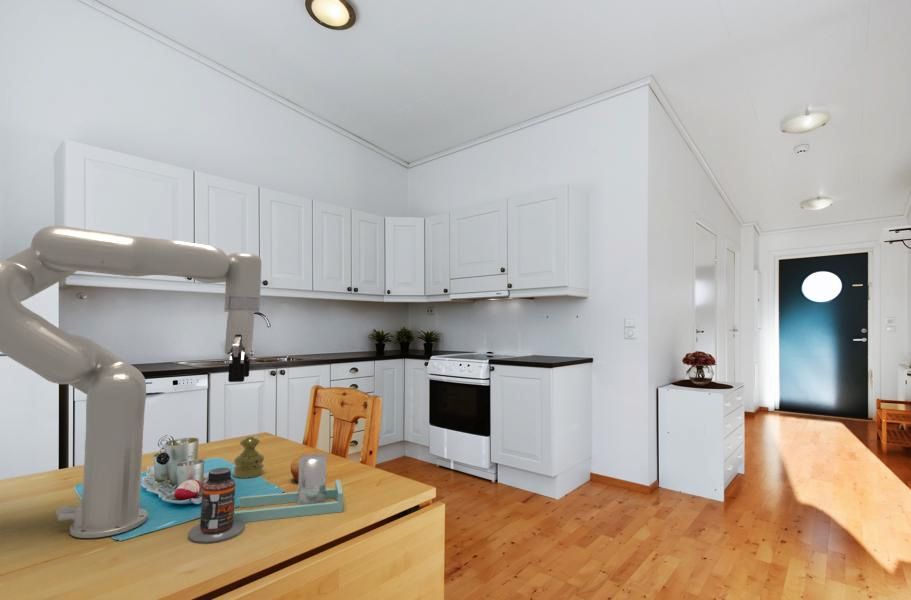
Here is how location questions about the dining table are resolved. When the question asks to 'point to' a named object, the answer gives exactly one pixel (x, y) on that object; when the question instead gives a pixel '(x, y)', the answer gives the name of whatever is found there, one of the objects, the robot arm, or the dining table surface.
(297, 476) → the fruit
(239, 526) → the coaster
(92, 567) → the dining table surface
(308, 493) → the can
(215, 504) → the supplement bottle
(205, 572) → the dining table surface
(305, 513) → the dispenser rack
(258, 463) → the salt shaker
